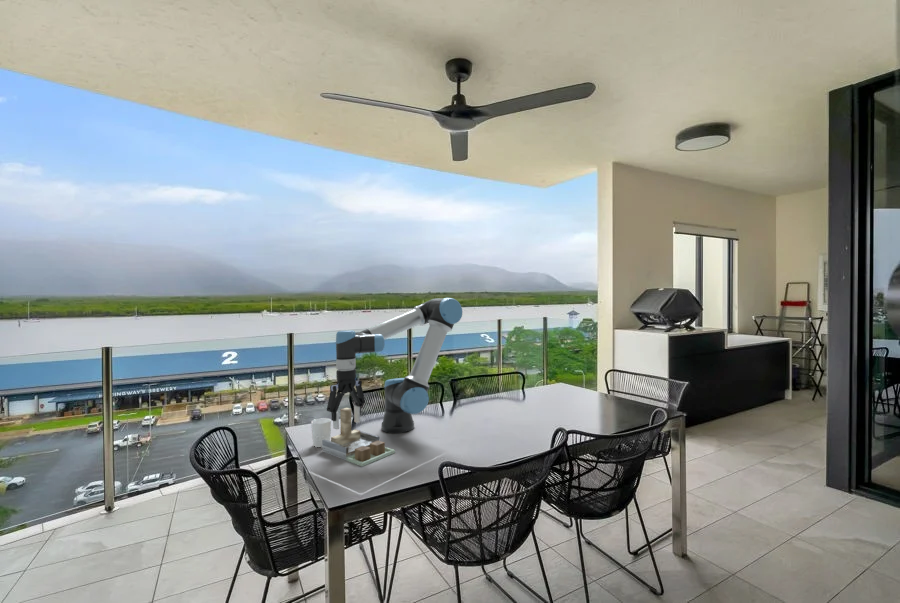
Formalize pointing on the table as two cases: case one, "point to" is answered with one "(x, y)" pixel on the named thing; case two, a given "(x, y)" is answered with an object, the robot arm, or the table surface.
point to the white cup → (320, 431)
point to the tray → (373, 457)
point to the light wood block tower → (346, 428)
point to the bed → (348, 445)
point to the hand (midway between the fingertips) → (346, 425)
